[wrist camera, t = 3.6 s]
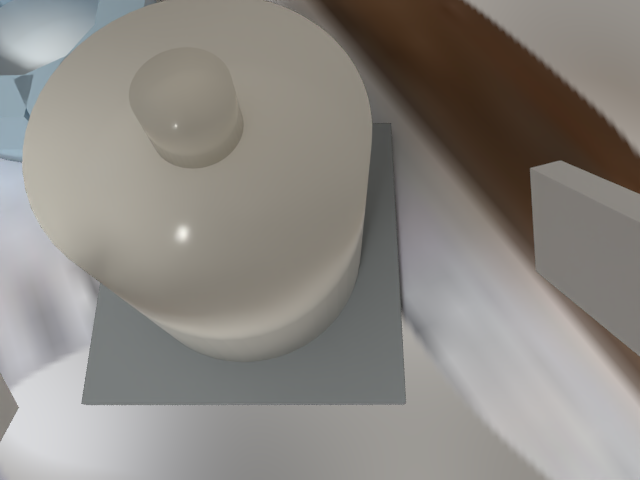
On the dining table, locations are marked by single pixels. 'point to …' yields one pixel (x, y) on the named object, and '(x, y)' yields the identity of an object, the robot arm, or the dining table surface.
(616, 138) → the dining table surface
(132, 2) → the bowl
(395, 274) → the mat
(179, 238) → the cover
